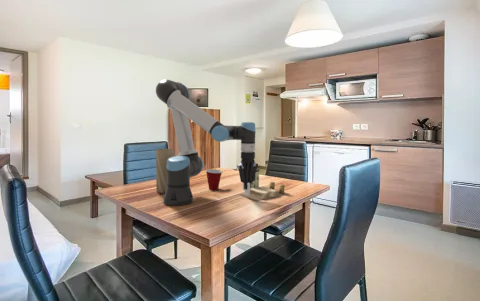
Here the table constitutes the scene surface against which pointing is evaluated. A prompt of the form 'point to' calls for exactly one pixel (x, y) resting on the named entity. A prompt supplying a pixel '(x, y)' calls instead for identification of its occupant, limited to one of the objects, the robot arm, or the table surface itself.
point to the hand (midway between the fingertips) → (247, 194)
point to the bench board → (279, 194)
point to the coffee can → (256, 180)
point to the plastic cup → (213, 178)
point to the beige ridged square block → (263, 192)
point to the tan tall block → (162, 168)
